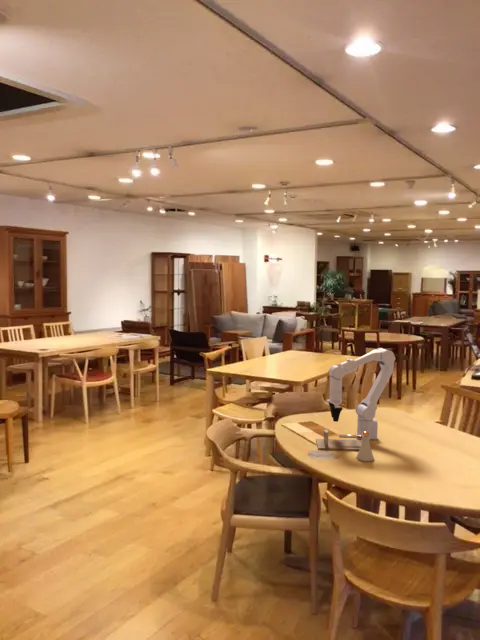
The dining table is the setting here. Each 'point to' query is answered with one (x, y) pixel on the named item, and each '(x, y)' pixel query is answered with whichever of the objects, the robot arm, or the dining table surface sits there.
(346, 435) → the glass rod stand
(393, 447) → the dining table surface
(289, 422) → the dining table surface
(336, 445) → the board
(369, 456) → the flask
